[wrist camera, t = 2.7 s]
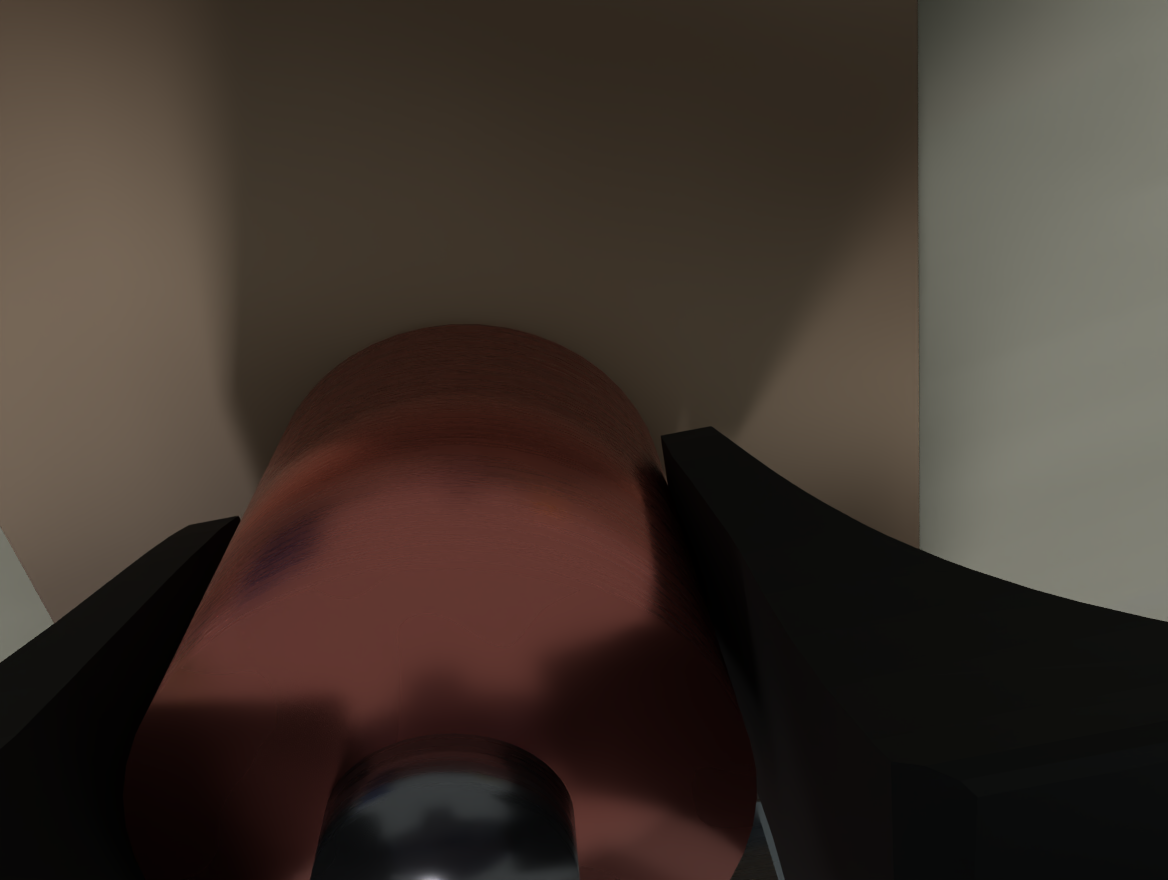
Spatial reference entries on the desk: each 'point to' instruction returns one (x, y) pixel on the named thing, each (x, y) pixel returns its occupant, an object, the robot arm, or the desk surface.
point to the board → (443, 234)
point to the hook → (450, 644)
